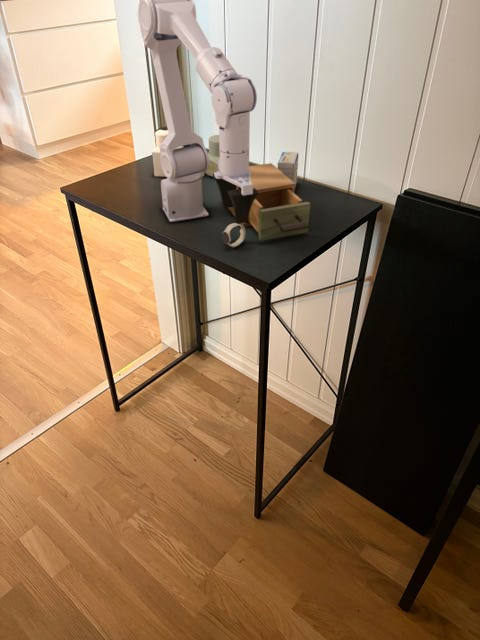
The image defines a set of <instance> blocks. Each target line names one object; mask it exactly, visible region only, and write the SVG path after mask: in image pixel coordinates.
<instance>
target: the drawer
mask: <svg viewBox="0 0 480 640" xmlns="http://www.w3.org/2000/svg"><path fill="white" fill-rule="evenodd" d="M310 214H311V202H309V201H304V202H303V199H301V198H300V196H298V195H297V194H296V193H293V192H292V191H291V190H290V189H289V188H285V189H279V190H273V191H266V192H260V193H258V195H257V197H256V198H255V200H254V201H253V203H252V206H251V208H250V212H249V216H248V219H247V220H248V221H249V222H250V224H251V225H252V226H251V227H253V228H254V229H255V231H256V232H257V233H258V240H259V241H260V242H263V241H267V240H272V239H278V238H279V239H280V238H284V237H289V236H295V235H300V234H304V233H308V232H309V226H310V224H309V223H310Z"/></svg>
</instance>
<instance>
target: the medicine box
mask: <svg viewBox="0 0 480 640" xmlns="http://www.w3.org/2000/svg"><path fill="white" fill-rule="evenodd" d="M277 168H278V169H279V170H280V171H281V172H282V173H283V174H285V175H286V176H287V177H288V178H289V179H290V180H292V181H293V182H294V183H295V188H296V187H297V183H298V169H299V152H297V151H282V152H281V154H280V156H279V160H278V162H277Z"/></svg>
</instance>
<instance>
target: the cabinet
mask: <svg viewBox="0 0 480 640" xmlns="http://www.w3.org/2000/svg"><path fill="white" fill-rule="evenodd" d="M249 170H250V177H251V183H252V184H253V189H254V188H255V189H256V190H257V191H258V193H260V192H266V191H273V190H279V189H285V188H289V189H290V190H291V191H292V192H293V193H295V192H296V187H295V183H294V182H293V181H292V180H290V179H289V178H288V177H287V176H286V175H285V174H283V173H282V172H281V171H280V170H279V169H278V167H276V165H275V164H273V163H272V162H271V163H269V162H268V163H263V164H257V165H249ZM237 187H238V186H237ZM236 189H237V188H236ZM295 194H296V193H295ZM227 209H228V211H230V213H231V214H232V215H233V216H234V208H233V207H229V208H227ZM240 225H242V226H244V227H245V228H246V227H253V226H252V225H251V224H250V222H249V221H248V220H247V222H246V223H240Z"/></svg>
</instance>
